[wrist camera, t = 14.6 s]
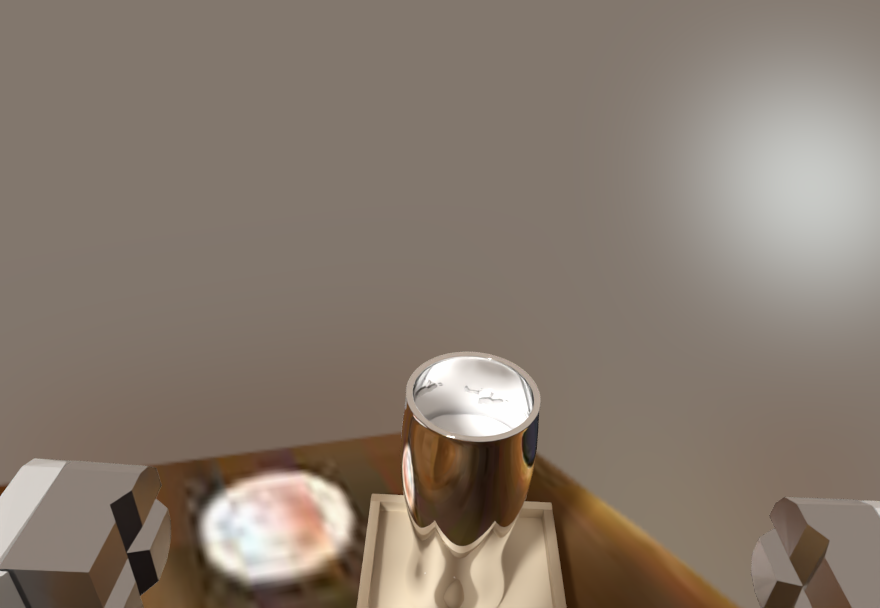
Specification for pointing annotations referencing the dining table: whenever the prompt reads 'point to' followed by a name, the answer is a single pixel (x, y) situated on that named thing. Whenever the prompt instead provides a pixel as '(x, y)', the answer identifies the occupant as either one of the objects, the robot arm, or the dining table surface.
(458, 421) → the beer glass
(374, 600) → the tray
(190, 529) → the dining table surface
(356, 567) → the dining table surface
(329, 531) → the dining table surface
